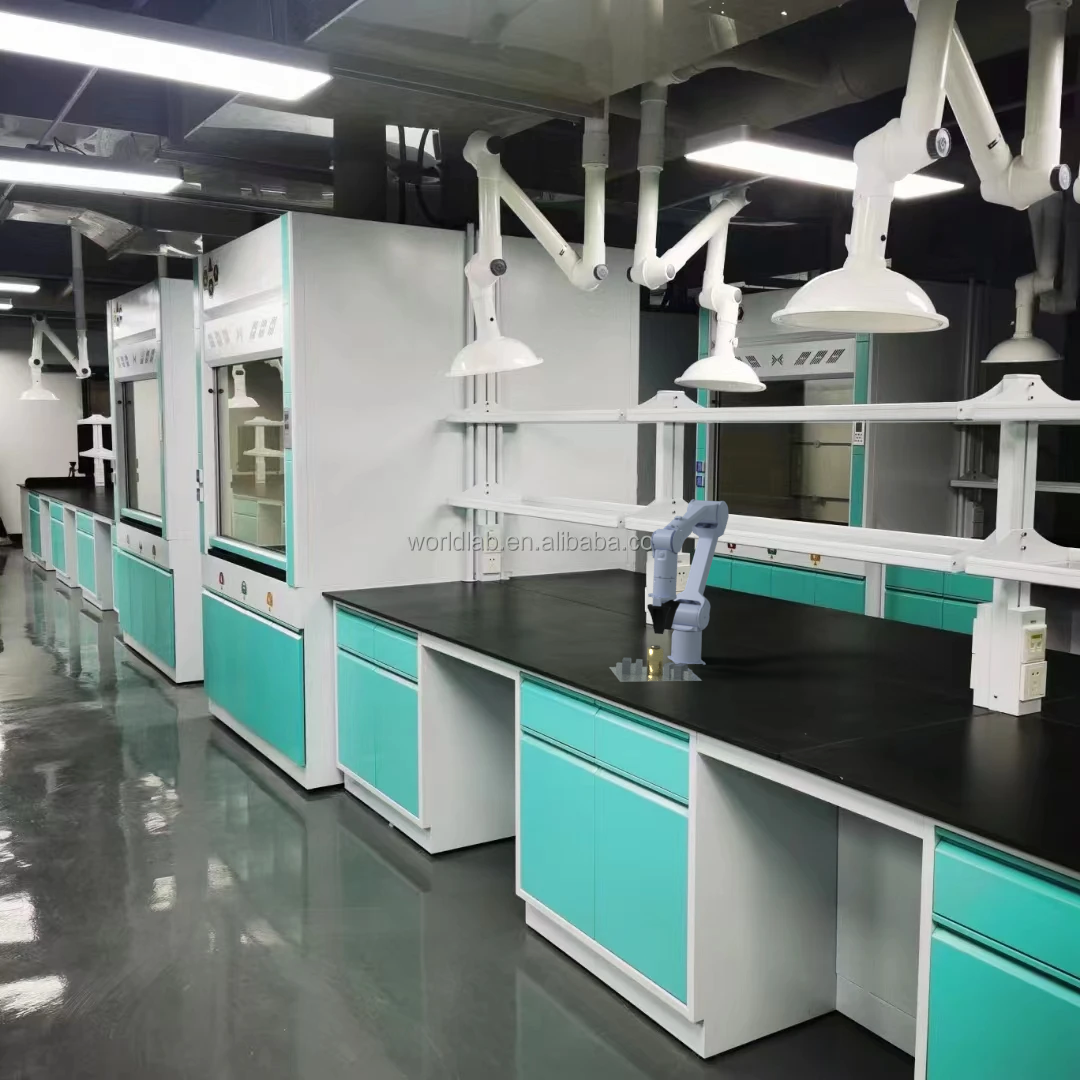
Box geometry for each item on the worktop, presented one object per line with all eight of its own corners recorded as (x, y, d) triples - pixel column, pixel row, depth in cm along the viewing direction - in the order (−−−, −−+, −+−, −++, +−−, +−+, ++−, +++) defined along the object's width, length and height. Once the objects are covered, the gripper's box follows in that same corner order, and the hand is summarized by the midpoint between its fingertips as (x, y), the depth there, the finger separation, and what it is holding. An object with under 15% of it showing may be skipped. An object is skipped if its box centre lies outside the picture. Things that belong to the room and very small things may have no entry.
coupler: (645, 672, 254) (645, 644, 253) (660, 672, 254) (661, 644, 253) (648, 676, 250) (649, 647, 249) (664, 675, 250) (665, 647, 250)
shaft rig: (609, 668, 259) (609, 653, 258) (686, 667, 261) (686, 653, 261) (620, 683, 244) (620, 667, 244) (701, 682, 246) (702, 666, 246)
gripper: (657, 573, 262) (655, 625, 263) (641, 578, 248) (639, 634, 249) (684, 575, 259) (681, 628, 260) (669, 581, 246) (667, 636, 247)
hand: (662, 631), depth 255 cm, fingers open, 7 cm apart
